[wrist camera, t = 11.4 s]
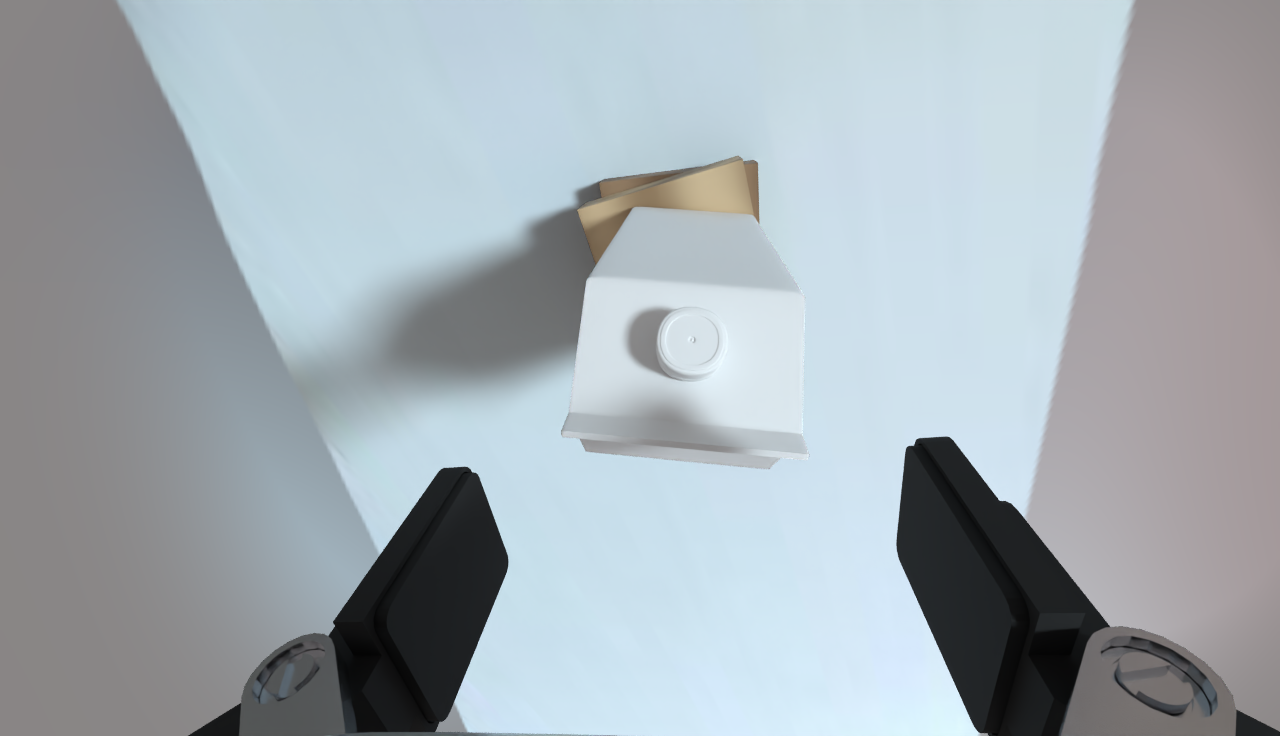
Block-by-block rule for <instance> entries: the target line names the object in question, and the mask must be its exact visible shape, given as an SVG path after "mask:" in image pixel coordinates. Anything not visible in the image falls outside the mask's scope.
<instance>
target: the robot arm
mask: <svg viewBox="0 0 1280 736" xmlns="http://www.w3.org/2000/svg"><path fill="white" fill-rule="evenodd" d="M896 545H897V553H898V557H899V560H900V562H901V565H902V567H903V569H904V571H905V574H906V576H907V578H908V580H909V582H910V585H911V587H912V589H913V591H914V594H915V596H916V598H917V600H918V603H919V605H920V607H921V609H922V612H923V614H924V616H925V618H926V620H927V623H928V625H929V627H930V629H931V632H932V634H933V636H934V638H935V641H936V643H937V645H938V647H939V650H940V652H941V654H942V656H943V658H944V661H945V663H946V665H947V667H948V670H949V672H950V674H951V676H952V679H953V681H954V683H955V685H956V688H957V690H958V692H959V694H960V696H961V699H962V701H963V703H964V705H965V708H966V710H967V712H968V714H969V717H970V719H971V721H972V723H973V725H974V727H975V728H976V730H977V731H978V732H979V733H988V735H989V736H1280V732H1279V731H1277V730H1275V729H1273V728H1271V727H1269V726H1267V725H1266V724H1264V723H1261V722H1259V721H1257V720H1256V719H1254V718H1252V717H1250V716H1248V715H1246V714H1244V713H1242V712H1240V711H1238V710H1236V707H1235V703H1234V699H1233V695H1232V694H1231V692H1230V691H1229V689H1228V688H1227V686H1226V684H1225V683H1224V681H1223V680H1222V679H1221V677H1219V676H1218V675H1217V674H1216V673H1215V672H1214V671H1213V670H1212V669H1211V668H1210V667H1209V666H1208V665H1207V664H1206V663H1205V662H1204V661H1202V660H1201V659H1200V658H1198V657H1197V656H1195V655H1194V654H1193V653H1191V652H1190V651H1188V650H1187V649H1186V648H1184V647H1182V646H1180V645H1178V644H1176V643H1174V642H1172V641H1170V640H1168V639H1166V638H1164V637H1162V636H1159V635H1156V634H1153V633H1150V632H1147V631H1144V630H1142V629H1136V628H1129V627H1123V626H1119V627H1110V626H1109V625H1108V623H1107V622H1106V621H1105V620H1104V618H1103V617H1102V616H1101V615H1100V613H1099V612H1098V611H1097V610H1096V608H1095V607H1094V606H1093V604H1092V603H1091V602H1090V601H1089V599H1088V598H1087V597H1086V596H1085V594H1084V593H1083V592H1082V591H1081V590H1080V588H1079V587H1078V586H1077V584H1076V583H1075V582H1074V581H1073V579H1072V578H1071V577H1070V576H1069V574H1068V573H1067V572H1066V571H1065V569H1064V568H1063V567H1062V565H1061V564H1060V563H1059V562H1058V560H1057V559H1056V558H1055V557H1054V555H1053V554H1052V553H1051V552H1050V550H1049V549H1048V548H1047V547H1046V545H1045V544H1044V543H1043V542H1042V540H1041V539H1040V538H1039V536H1038V535H1037V534H1036V533H1035V532H1034V530H1033V529H1032V528H1031V527H1030V525H1029V524H1028V523H1027V521H1026V520H1025V519H1024V518H1023V516H1022V515H1021V514H1020V513H1019V511H1018V510H1017V509H1016V508H1015V507H1014V506H1013V505H1012V504H1011V503H1008V502H1006V501H999V500H998V498H997V497H996V496H995V494H994V493H993V492H992V490H991V489H990V488H989V487H988V485H987V484H986V483H985V481H984V480H983V479H982V477H981V476H980V475H979V474H978V472H977V471H976V470H975V468H974V467H973V466H972V464H971V463H970V462H969V460H968V459H967V458H966V457H965V455H964V454H963V453H962V451H961V450H960V449H959V447H958V446H957V445H956V444H955V442H954V441H953V440H952V439H951V438H950V437H932V438H919V439H917V440H916V442H915V445H914V446H908V447H907V448H906V452H905V462H904V472H903V482H902V492H901V502H900V512H899V522H898V532H897V543H896ZM507 569H508V555H507V552H506V549H505V547H504V544H503V541H502V539H501V536H500V533H499V530H498V528H497V525H496V522H495V519H494V517H493V514H492V511H491V508H490V506H489V503H488V500H487V497H486V495H485V492H484V489H483V487H482V484H481V481H480V478H479V476H478V474H476V473H472V471H471V470H470V469H469V468H468V467H454V468H443V469H441V470H440V471H439V472H438V473H437V475H436V476H435V478H434V479H433V481H432V482H431V483H430V485H429V486H428V488H427V489H426V491H425V492H424V493H423V495H422V496H421V498H420V499H419V500H418V502H417V503H416V505H415V506H414V508H413V509H412V510H411V512H410V513H409V515H408V516H407V518H406V519H405V520H404V522H403V523H402V525H401V526H400V527H399V529H398V530H397V532H396V533H395V535H394V536H393V537H392V539H391V540H390V542H389V543H388V545H387V546H386V547H385V549H384V550H383V552H382V553H381V554H380V556H379V557H378V559H377V560H376V562H375V563H374V564H373V566H372V567H371V569H370V570H369V572H368V573H367V574H366V576H365V577H364V579H363V580H362V581H361V583H360V584H359V586H358V587H357V589H356V590H355V591H354V593H353V594H352V596H351V597H350V599H349V600H348V602H347V603H346V604H345V606H344V607H343V608H342V610H341V611H340V613H339V614H338V616H337V617H336V618H335V620H334V621H333V623H334V625H335V627H334V629H333V630H332V632H331V633H330V634H329V636H327V635H325V634H317V633H313V634H308V635H303V636H300V637H298V638H296V639H293V640H291V641H289V642H287V643H286V644H284V645H283V646H281V647H279V648H278V649H276V650H275V651H274V652H272V654H270V655H269V656H268V657H267V658H265V659H264V660H263V661H262V662H261V664H260V665H259V666H258V667H257V668H256V669H255V671H254V672H253V673H252V674H251V676H250V678H249V679H248V681H247V683H246V684H245V686H244V690H243V694H242V698H241V703H240V704H239V705H237V706H235V707H234V708H232V709H230V710H229V711H227V712H226V713H224V714H222V715H221V716H219V717H218V718H216V719H214V720H213V721H211V722H210V723H208V724H206V725H205V726H203V727H202V728H200V729H198V730H197V731H195V732H193V733H192V734H190V735H189V736H615V735H572V734H519V733H463V732H462V733H460V732H435V731H436V729H437V727H438V724H439V722H442V721H444V720H445V719H446V718H447V717H448V714H449V712H450V710H451V708H452V706H453V703H454V701H455V698H456V696H457V693H458V691H459V688H460V686H461V683H462V681H463V678H464V676H465V674H466V671H467V669H468V666H469V664H470V661H471V659H472V656H473V654H474V651H475V649H476V647H477V644H478V642H479V639H480V637H481V634H482V632H483V629H484V627H485V624H486V622H487V619H488V617H489V615H490V612H491V610H492V607H493V605H494V602H495V600H496V597H497V595H498V592H499V590H500V587H501V585H502V583H503V580H504V578H505V575H506V573H507Z"/></svg>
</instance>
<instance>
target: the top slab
mask: <svg viewBox="0 0 1280 736" xmlns="http://www.w3.org/2000/svg"><path fill="white" fill-rule="evenodd" d="M634 207H653V208H668V209H683V210H697V211H712V212H726V213H740V214H750V215H753V216H754V213H753V208H752V203H751V198H750V193H749V188H748V183H747V178H746V173H745V168H744V163H743V159H742V158H741V157H739V156H735V157H732V158H729V159H726V160H722V161H719V162H716V163H713V164H709V165H706V166H703V167H700V168H696V169H693V170H690V171H687V172H683V173H680V174H677V175H674V176H670V177H667V178H664V179H661V180H657V181H654V182H651V183H648V184H644V185H641V186H638V187H635V188H631V189H628V190H625V191H622V192H618V193H615V194H612V195H609V196H605V197H602V198H599V199H596V200H592V201H589V202H586V203H585V204H584V205H583V206H581V207H580V208H579V209H578V210H577V211H578V214H579V217H580V220H581V223H582V226H583V229H584V232H585V235H586V237H587V240H588V243H589V246H590V249H591V252H592V255H593V258H594V261H595V264H597V263H598V261H599V260H600V258H601V257H602V255H603V253H604V252H605V250H606V249H607V247H608V246H609V244H610V243H611V241H612V240H613V238H614V236H615V235H616V233H617V232H618V230H619V229H620V227H621V226H622V224H623V222H624V221H625V219H626V218H627V216H628V215H629V213H630V212H631V210H632V209H633V208H634Z"/></svg>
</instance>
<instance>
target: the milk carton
mask: <svg viewBox="0 0 1280 736" xmlns="http://www.w3.org/2000/svg"><path fill="white" fill-rule="evenodd" d="M804 334H805V296H804V295H803V293H802V291H801V289H800V288H799V286H798V284H797V283H796V281H795V280H794V278H793V276H792V275H791V273H790V272H789V270H788V269H787V267H786V265H785V264H784V262H783V261H782V259H781V258H780V256H779V254H778V253H777V251H776V250H775V248H774V247H773V245H772V244H771V242H770V240H769V239H768V237H767V236H766V234H765V233H764V231H763V229H762V228H761V226H760V225H759V223H758V222H757V220H756V218H755V217H754V216H753V215H750V214H740V213H726V212H712V211H697V210H683V209H668V208H653V207H634V208H633V209H632V210H631V212H630V213H629V215H628V216H627V218H626V219H625V221H624V222H623V224H622V226H621V227H620V229H619V230H618V232H617V233H616V235H615V236H614V238H613V240H612V241H611V243H610V244H609V246H608V247H607V249H606V250H605V252H604V253H603V255H602V257H601V258H600V260H599V261H598V263H597V264H596V266H595V267H594V269H593V271H592V272H591V274H590V276H589V278H588V279H587V281H586V288H585V295H584V302H583V310H582V317H581V325H580V332H579V339H578V347H577V354H576V362H575V369H574V377H573V384H572V391H571V399H570V406H569V413H568V416H567V418H566V421H565V423H564V425H563V428H562V430H561V435H562V437H567V438H578V439H580V440H581V442H582V444H583V447H584V449H585V451H587V452H595V453H604V454H615V455H625V456H635V457H645V458H656V459H666V460H676V461H687V462H697V463H707V464H717V465H728V466H738V467H748V468H759V469H770V468H771V467H772V466H773V465H774V464H775V463H776V462H777V461H778V460H779V459H780V458H786V459H797V460H808V458H809V452H808V449H807V446H806V443H805V441H804V438H803V435H802V434H803V384H804Z"/></svg>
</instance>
